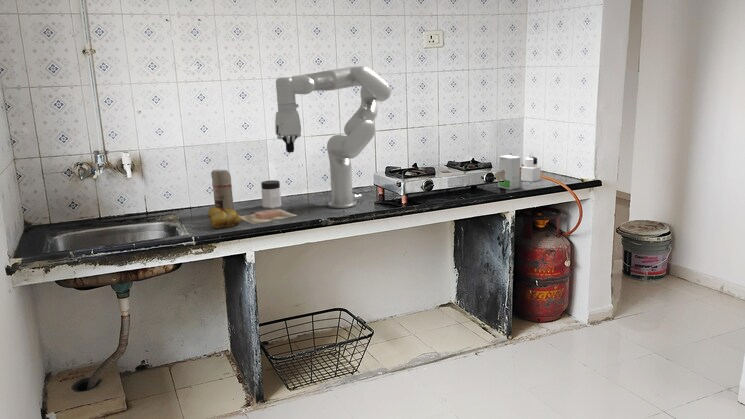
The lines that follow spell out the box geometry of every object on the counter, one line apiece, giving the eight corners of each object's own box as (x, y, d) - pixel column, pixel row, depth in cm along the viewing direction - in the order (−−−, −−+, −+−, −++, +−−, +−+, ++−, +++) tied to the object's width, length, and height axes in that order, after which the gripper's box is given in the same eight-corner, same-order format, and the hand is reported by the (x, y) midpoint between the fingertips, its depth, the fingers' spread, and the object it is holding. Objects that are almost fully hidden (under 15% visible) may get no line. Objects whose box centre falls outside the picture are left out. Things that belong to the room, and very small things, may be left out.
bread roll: (241, 221, 256) (239, 202, 254) (244, 227, 247) (242, 207, 245) (209, 225, 252) (207, 206, 250) (211, 230, 243) (209, 211, 241)
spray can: (211, 214, 270) (207, 169, 265) (228, 211, 275) (224, 166, 270) (220, 217, 264) (216, 171, 259) (237, 214, 269) (233, 168, 264)
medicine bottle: (529, 178, 325) (529, 155, 322) (540, 180, 320) (541, 157, 317) (520, 180, 321) (521, 157, 318) (532, 182, 315) (532, 158, 313)
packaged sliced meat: (279, 211, 270) (279, 209, 270) (297, 218, 258) (297, 215, 257) (237, 219, 259) (236, 216, 259) (253, 226, 246) (253, 224, 246)
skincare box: (498, 187, 305) (498, 156, 302) (507, 185, 309) (507, 154, 305) (511, 189, 299) (511, 157, 295) (520, 187, 302) (520, 156, 299)
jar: (266, 211, 272) (264, 184, 270) (259, 208, 279) (257, 182, 276) (285, 208, 277) (283, 181, 274) (277, 205, 284) (275, 179, 281)
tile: (273, 209, 263) (254, 212, 258) (281, 211, 258) (261, 215, 253) (274, 212, 264) (254, 216, 259) (281, 215, 258) (262, 219, 253)
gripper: (298, 106, 262) (301, 149, 267) (266, 109, 254) (270, 153, 258) (307, 106, 256) (310, 150, 261) (274, 109, 248) (278, 155, 252)
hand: (290, 151), depth 260 cm, fingers closed
